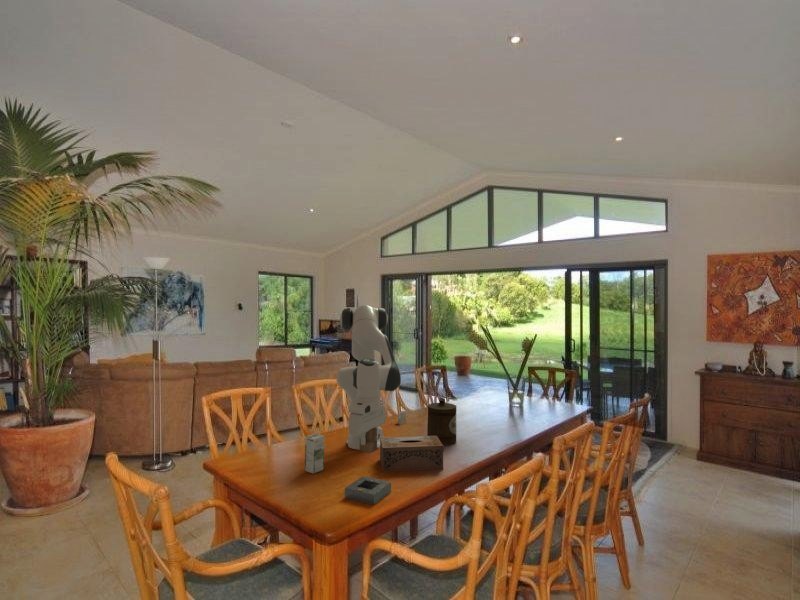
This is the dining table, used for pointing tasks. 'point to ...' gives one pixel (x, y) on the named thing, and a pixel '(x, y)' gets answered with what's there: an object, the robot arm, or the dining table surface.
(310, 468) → the syrup box
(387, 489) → the grey square socket base
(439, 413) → the wooden container
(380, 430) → the robot arm
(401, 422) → the architectural model
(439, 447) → the tissue box cover
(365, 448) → the brown block with knob
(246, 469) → the dining table surface
